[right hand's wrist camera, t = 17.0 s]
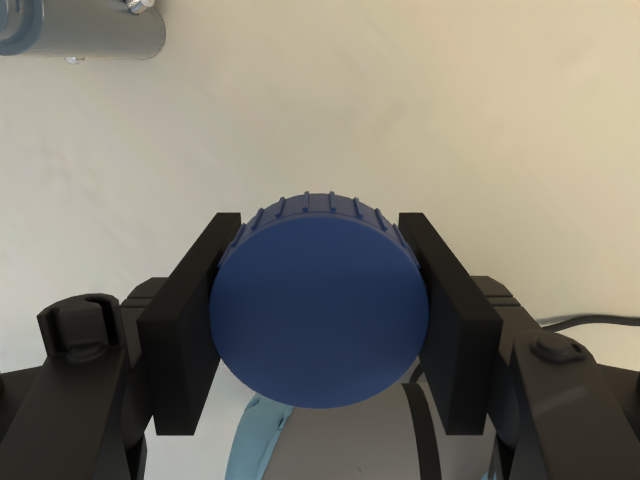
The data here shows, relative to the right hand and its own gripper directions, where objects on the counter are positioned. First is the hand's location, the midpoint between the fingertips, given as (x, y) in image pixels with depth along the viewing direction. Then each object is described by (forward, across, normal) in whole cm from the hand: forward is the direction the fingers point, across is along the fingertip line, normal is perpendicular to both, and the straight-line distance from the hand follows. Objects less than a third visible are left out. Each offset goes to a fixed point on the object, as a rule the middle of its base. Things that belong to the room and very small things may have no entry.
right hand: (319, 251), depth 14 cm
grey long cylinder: (+27, +16, -9) cm, 33 cm away
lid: (-4, 0, 0) cm, 4 cm away
